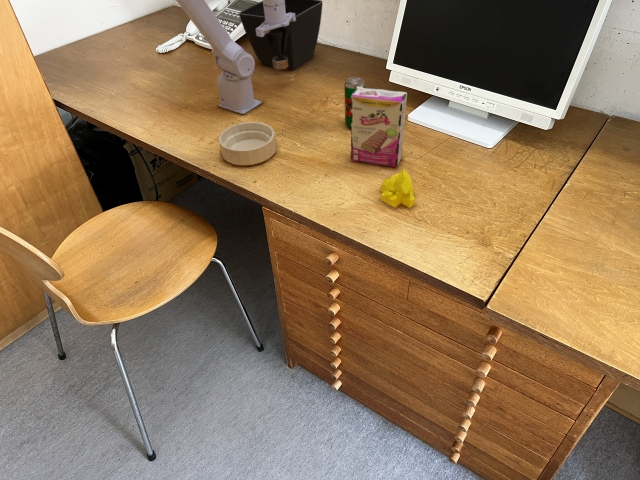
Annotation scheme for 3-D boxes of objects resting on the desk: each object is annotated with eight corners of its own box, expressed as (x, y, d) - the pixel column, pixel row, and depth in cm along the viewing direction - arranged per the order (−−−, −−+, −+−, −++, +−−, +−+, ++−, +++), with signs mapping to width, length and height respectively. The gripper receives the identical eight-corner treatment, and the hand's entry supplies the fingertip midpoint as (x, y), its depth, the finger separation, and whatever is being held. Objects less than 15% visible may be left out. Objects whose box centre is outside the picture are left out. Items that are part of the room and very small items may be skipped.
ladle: (270, 67, 137) (265, 27, 129) (279, 62, 140) (275, 22, 132) (281, 70, 135) (277, 29, 127) (291, 65, 138) (287, 24, 130)
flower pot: (245, 67, 153) (236, 11, 142) (279, 46, 165) (273, -7, 153) (294, 77, 145) (289, 20, 134) (326, 55, 157) (324, 0, 146)
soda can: (363, 130, 120) (363, 85, 112) (343, 129, 121) (342, 84, 113) (366, 120, 124) (366, 76, 116) (346, 119, 125) (346, 75, 117)
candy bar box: (350, 162, 110) (349, 95, 99) (356, 150, 114) (356, 85, 102) (397, 169, 107) (402, 101, 96) (402, 157, 111) (407, 90, 99)
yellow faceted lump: (392, 183, 103) (394, 153, 98) (421, 200, 99) (424, 168, 93) (373, 195, 101) (374, 164, 95) (402, 212, 96) (404, 181, 91)
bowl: (211, 157, 115) (207, 140, 112) (247, 132, 123) (244, 117, 119) (251, 173, 109) (248, 156, 106) (287, 147, 116) (285, 130, 113)
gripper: (267, 13, 120) (274, 66, 129) (302, -3, 128) (306, 48, 137) (247, 9, 123) (254, 61, 132) (282, -6, 131) (287, 44, 141)
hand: (279, 54), depth 135 cm, fingers closed on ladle
